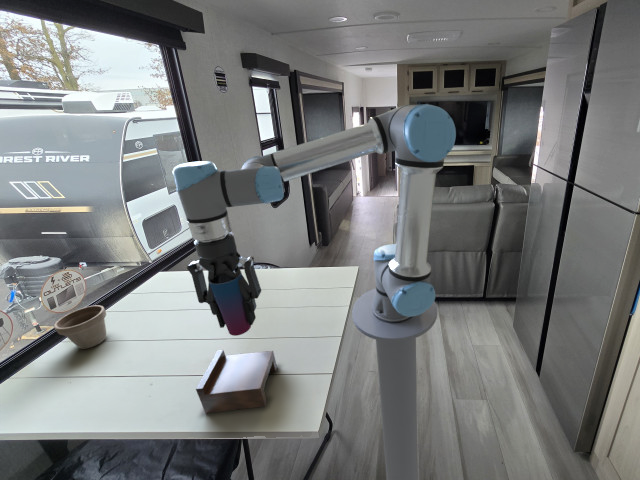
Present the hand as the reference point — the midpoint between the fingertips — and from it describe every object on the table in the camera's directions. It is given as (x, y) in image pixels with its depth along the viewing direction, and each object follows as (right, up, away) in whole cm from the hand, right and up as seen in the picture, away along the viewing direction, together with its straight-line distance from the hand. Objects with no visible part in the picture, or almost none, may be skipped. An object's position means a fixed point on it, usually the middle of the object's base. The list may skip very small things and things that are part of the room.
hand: (238, 322), depth 75 cm
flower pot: (-58, -13, +23) cm, 64 cm away
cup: (0, -2, +1) cm, 2 cm away
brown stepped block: (-1, -18, +5) cm, 19 cm away
